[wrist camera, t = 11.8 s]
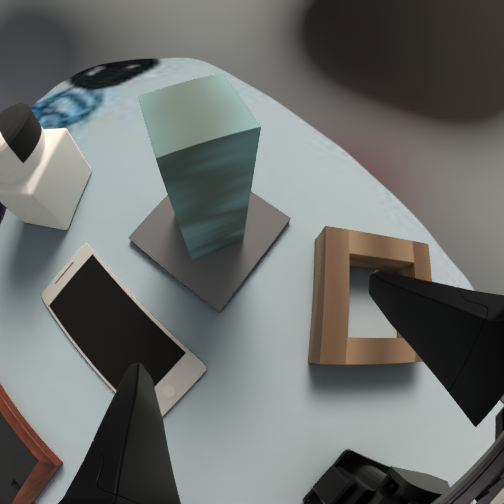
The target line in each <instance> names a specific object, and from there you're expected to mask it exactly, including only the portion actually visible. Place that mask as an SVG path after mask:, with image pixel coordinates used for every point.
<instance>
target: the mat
mask: <svg viewBox="0 0 504 504" xmlns="http://www.w3.org/2000/svg"><path fill="white" fill-rule="evenodd" d="M289 221H290V217H288V216H287V215H285V214H284V213H282V212H281V211H279V210H278V209H276V208H275V207H274V206H272V205H271V204H269V203H268V202H266V201H265V200H263V199H262V198H260V197H259V196H257V195H256V194H254V193H252V192H251V193H250V200H249V206H248V213H247V220H246V226H245V233H244V240H243V241H240V242H237V243H235V244H232V245H230V246H227V247H224V248H222V249H219V250H217V251H214V252H211V253H209V254H206V255H204V256H201V257H199V258H196V259H194V260H192V259H191V256H190V253H189V251H188V248H187V246H186V243H185V240H184V238H183V235H182V232H181V230H180V227H179V224H178V222H177V219H176V216H175V213H174V210H173V208H172V205H171V202H170V199H169V196H168V195H167V196H166V197H165V198H164V199H163V200H162V201H161V202H160V204H159V205H158V206H157V207H156V208H155V209H154V210H153V211H152V212H151V213H150V214H149V215H148V216H147V218H146V219H145V220H144V221H143V222H142V223H141V224H140V225H139V226H138V228H137V229H136V230H135V231H134V232H133V233H132V234H131V235H130V237H129V239H130V240H131V241H132V242H133V243H134V244H135V245H136V246H138V247H139V248H140V249H141V250H142V251H143V252H145V253H146V254H147V255H148V256H149V257H150V258H152V259H153V260H154V261H155V262H156V263H158V264H159V265H160V266H161V267H162V268H164V269H165V270H166V271H167V272H169V273H170V274H171V275H172V276H173V277H175V278H176V279H177V280H178V281H180V282H181V283H182V284H183V285H185V286H186V287H187V288H188V289H190V290H191V291H192V292H193V293H195V294H196V295H197V296H199V297H200V298H201V299H202V300H204V301H205V302H206V303H208V304H209V305H210V306H211V307H213V308H214V309H215V310H217V311H218V312H220V311H221V310H222V309H223V307H224V306H225V305H226V303H227V302H228V301H229V300H230V298H231V297H232V296H233V294H234V293H235V292H236V290H237V289H238V288H239V287H240V285H241V284H242V283H243V281H244V280H245V279H246V277H247V276H248V275H249V273H250V272H251V271H252V270H253V268H254V267H255V266H256V264H257V263H258V262H259V260H260V259H261V258H262V256H263V255H264V254H265V252H266V251H267V250H268V249H269V247H270V246H271V245H272V243H273V242H274V241H275V239H276V238H277V237H278V235H279V234H280V233H281V231H282V230H283V229H284V227H285V226H286V225H287V223H288V222H289Z"/></svg>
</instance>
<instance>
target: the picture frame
mask: <svg viewBox="0 0 504 504" xmlns="http://www.w3.org/2000/svg"><path fill="white" fill-rule="evenodd" d="M62 464H63V462H62V461H61V460H60V459H59V458H58V457H57V456H56V455H55V454H54V453H53V452H52V451H51V450H50V449H49V447H48V446H47V445H46V444H45V443H44V442H43V441H42V440H41V438H40V437H39V436H38V435H37V434H36V433H35V431H34V430H33V429H32V428H31V426H30V425H29V424H28V423H27V421H26V420H25V419H24V417H23V416H22V415H21V413H20V412H19V411H18V409H17V408H16V407H15V405H14V404H13V402H12V401H11V399H10V398H9V397H8V395H7V394H6V392H5V391H4V389H3V387H2V386H1V384H0V504H33V502H34V501H35V500H36V498H37V497H38V495H39V494H40V493H41V491H42V490H43V489H44V487H45V486H46V485H47V483H48V482H49V481H50V479H51V478H52V477H53V475H54V474H55V473H56V471H57V470H58V469H59V467H60V466H61V465H62Z"/></svg>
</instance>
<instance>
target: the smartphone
mask: <svg viewBox="0 0 504 504" xmlns="http://www.w3.org/2000/svg"><path fill="white" fill-rule="evenodd" d="M42 299H43V301H44V303H45V304H46V306H47V307H48V309H49V311H50V312H51V314H52V315H53V317H54V318H55V319H56V321H57V322H58V324H59V325H60V327H61V328H62V329H63V331H64V332H65V334H66V335H67V336H68V338H69V339H70V340H71V342H72V343H73V344H74V346H75V347H76V348H77V349H78V351H79V352H80V353H81V354H82V356H83V357H84V358H85V359H86V361H87V362H88V363H89V364H90V365H91V367H92V368H93V369H94V370H95V371H96V372H97V373H98V375H99V376H100V377H101V378H102V379H103V380H104V381H105V382H106V384H107V385H108V386H109V387H110V388H111V389H112V390H113V391H114V392H115V393H116V391H117V389H118V387H119V385H120V383H121V381H122V379H123V377H124V375H125V373H126V371H127V369H128V367H129V366H130V365H132V364H136V363H141V364H142V365H143V367H144V368H145V369H146V371H147V372H148V374H149V375H150V376H151V378H152V381H153V384H154V388H155V392H156V396H157V400H158V403H159V407H160V411H161V414H162V417H163V416H164V415H165V414H166V412H167V411H168V410H169V409H170V408H171V407H172V406H173V405H174V404H175V403H176V402H177V401H178V400H179V399H180V398H181V397H182V396H183V395H184V394H185V393H186V392H187V390H188V389H189V388H190V387H191V386H192V385H193V384H194V383H195V382H196V381H197V380H198V379H199V378H200V377H201V375H202V374H203V373H204V372H205V371H206V369H207V368H206V366H205V364H204V363H203V362H202V361H201V360H200V359H198V358H197V357H196V356H195V355H194V354H193V353H192V352H191V351H189V350H188V349H187V348H186V347H185V346H184V345H183V344H182V343H181V342H180V341H179V340H178V339H176V338H175V337H174V336H173V335H172V334H171V333H170V332H169V331H168V330H167V329H166V328H165V327H164V326H163V325H162V324H161V323H160V322H159V321H158V320H157V319H156V318H155V317H154V316H153V315H152V314H151V313H150V312H149V311H148V310H147V309H146V308H145V307H144V306H143V305H142V304H141V303H140V302H139V301H138V300H137V299H136V298H135V297H134V296H133V294H132V293H131V292H130V291H129V290H128V289H127V288H126V287H125V286H124V285H123V284H122V282H121V281H120V280H119V279H118V278H117V277H116V276H115V275H114V273H113V272H112V271H111V270H110V269H109V268H108V267H107V265H106V264H105V263H104V262H103V261H102V260H101V258H100V257H99V256H98V255H97V254H96V252H95V251H94V250H93V249H92V248H91V247H90V246H89V245H88V244H86V243H84V244H83V245H82V246H81V247H80V248H79V250H78V251H77V252H76V253H75V254H74V255H73V256H72V258H71V259H70V260H69V261H68V262H67V263H66V264H65V266H64V267H63V268H62V269H61V270H60V272H59V273H58V274H57V275H56V276H55V278H54V279H53V280H52V281H51V283H50V284H49V285H48V286H47V288H46V289H45V290H44V291H43V293H42Z"/></svg>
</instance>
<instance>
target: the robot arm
mask: <svg viewBox="0 0 504 504" xmlns="http://www.w3.org/2000/svg"><path fill="white" fill-rule="evenodd" d="M369 294H370V296H371V297H372V299H373V300H374V302H375V303H376V304H377V306H378V307H379V308H380V310H381V311H382V313H383V314H384V315H385V317H386V318H387V319H388V321H389V322H390V323H391V325H392V326H393V327H394V328H395V329H396V330H397V331H398V333H399V334H400V335H401V336H402V337H403V338H404V339H405V341H406V342H407V343H408V344H409V345H410V346H411V348H412V349H413V350H414V351H415V352H416V353H417V355H418V356H419V357H420V358H421V359H422V360H423V362H424V363H425V364H426V365H427V366H428V368H429V369H430V370H431V371H432V372H433V374H434V375H435V376H436V377H437V379H438V380H439V381H440V382H441V383H442V385H443V386H444V387H445V388H446V390H447V391H448V392H449V394H450V395H451V396H452V397H453V399H454V400H455V401H456V403H457V404H458V405H459V406H460V408H461V409H462V410H463V412H464V413H465V414H466V416H467V417H468V418H469V420H470V421H471V422H472V424H473V425H474V426H475V427H477V425H478V424H479V423H480V422H481V421H482V420H483V419H484V418H485V417H486V416H487V414H488V413H489V412H490V411H491V410H492V409H493V407H494V406H495V405H496V404H497V402H498V401H499V400H500V401H501V402H502V403H503V404H504V295H497V294H490V293H483V292H477V291H472V290H467V289H462V288H458V287H453V286H449V285H444V284H440V283H435V282H431V281H426V280H422V279H417V278H413V277H408V276H404V275H399V274H394V273H390V272H385V271H381V270H378V271H375V272H373V273H371V274H370V277H369ZM93 440H94V441H93V442H92V444H91V446H90V448H89V450H88V453H87V455H86V457H85V459H84V461H83V463H82V465H81V467H80V469H79V470H78V472H77V474H76V476H75V478H74V479H73V481H72V483H71V485H70V487H69V489H68V490H67V492H66V494H65V496H64V497H63V499H62V500H61V501H60V502H59V503H58V504H181V502H180V499H179V495H178V491H177V487H176V483H175V479H174V475H173V470H172V466H171V461H170V456H169V451H168V446H167V441H166V435H165V430H164V424H163V418H162V414H161V411H160V407H159V403H158V400H157V396H156V392H155V388H154V384H153V381H152V378H151V376H150V375H149V374H148V372H147V371H146V369H145V368H144V367H143V365H142V364H141V363H136V364H132V365H130V366H129V367H128V369H127V371H126V373H125V375H124V377H123V379H122V381H121V383H120V385H119V387H118V389H117V391H116V393H115V395H114V397H113V399H112V401H111V403H110V405H109V407H108V409H107V411H106V414H105V416H104V418H103V420H102V422H101V424H100V426H99V428H98V431H97V433H96V435H95V437H94V439H93ZM348 453H350V454H349V456H347V457H346V455H347V454H348ZM309 499H311V500H310V501H307V500H309ZM474 499H475V500H476V501H477V503H476V504H504V407H503V408H502V409H501V411H500V412H499V413H498V414H497V416H496V434H495V442H494V443H493V444H492V446H491V447H490V448H489V449H488V450H487V451H486V452H485V454H484V455H483V456H482V457H481V458H480V459H479V460H478V461H477V462H476V463H475V464H474V465H473V466H472V467H471V468H470V469H469V470H468V471H467V472H466V473H465V474H464V475H463V476H462V477H461V478H460V479H459V480H458V481H457V482H456V483H455V484H454V485H453V486H452V487H449V485H448V482H447V481H445V480H442V479H440V478H437V477H434V476H432V475H429V474H425V473H420V472H415V471H410V470H405V469H401V468H397V467H392V466H391V467H388V466H386V465H384V464H381V463H379V462H376V461H374V460H372V459H370V458H367V457H365V456H363V455H361V454H358V453H356V452H354V451H352V450H349V449H348V450H345V451H344V452H343V453H342V454H341V455H340V457H339V458H338V459H337V461H336V462H335V463H334V464H333V465H332V466H331V467H330V468H329V469H328V470H327V471H326V473H325V474H324V475H323V476H322V477H321V478H320V479H319V481H318V482H317V483H316V484H315V485H314V486H313V489H312V490H311V491H310V492H309V493H308V494H307V495H306V496H305V497H304V499H303V502H304V504H470V503H471V502H472V501H473V500H474Z"/></svg>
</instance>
